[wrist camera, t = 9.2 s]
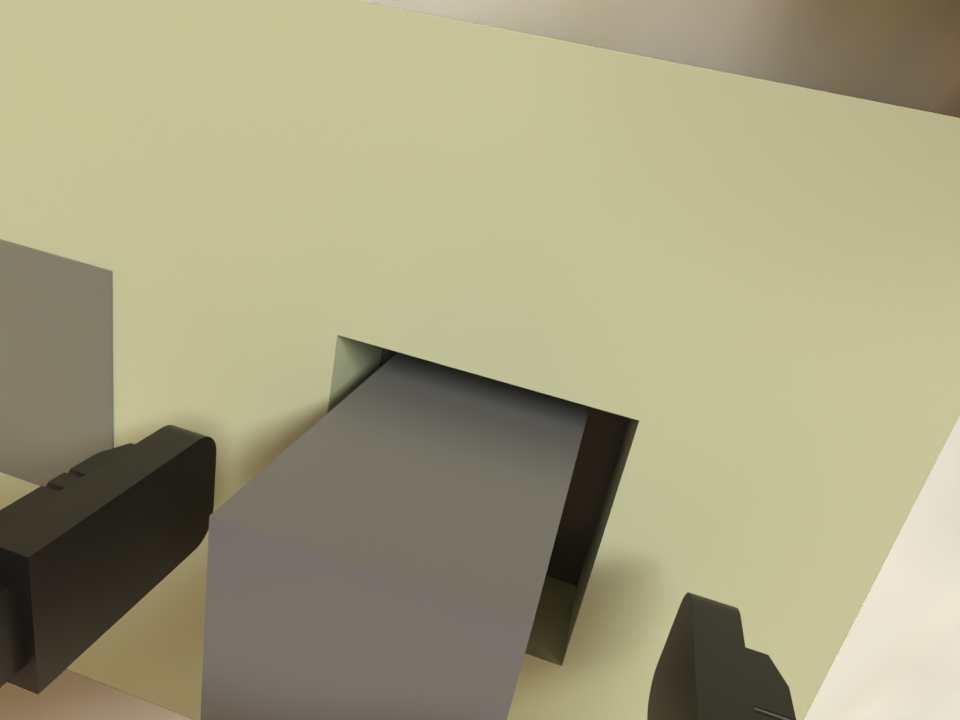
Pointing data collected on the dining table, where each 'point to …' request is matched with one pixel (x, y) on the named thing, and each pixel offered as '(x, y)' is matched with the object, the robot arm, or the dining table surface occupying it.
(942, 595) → the dining table surface
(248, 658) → the block
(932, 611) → the dining table surface
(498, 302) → the outlet plate
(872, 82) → the dining table surface
